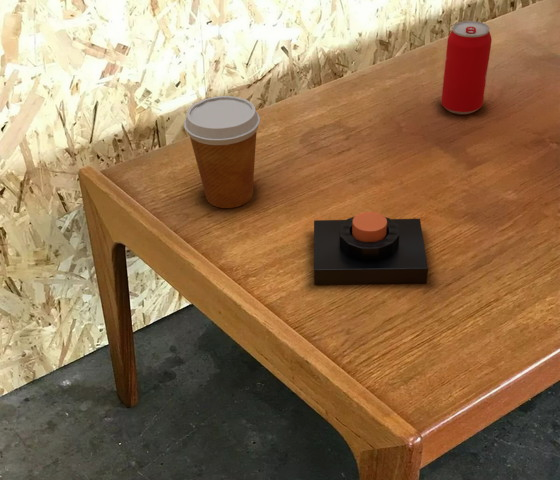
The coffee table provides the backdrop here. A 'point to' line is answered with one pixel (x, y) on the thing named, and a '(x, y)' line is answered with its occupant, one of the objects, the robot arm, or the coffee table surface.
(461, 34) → the beverage can
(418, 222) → the housing
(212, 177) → the disposable coffee cup
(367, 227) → the button
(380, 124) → the coffee table surface
